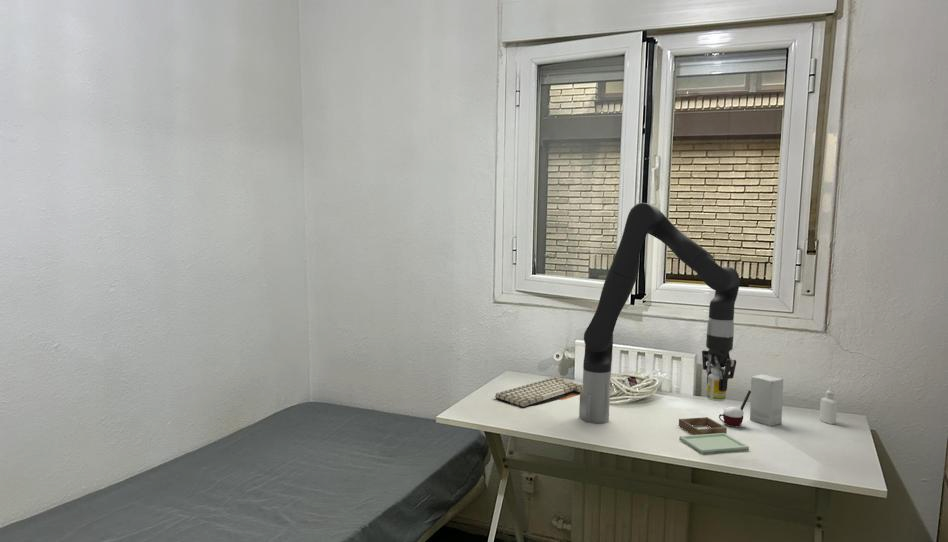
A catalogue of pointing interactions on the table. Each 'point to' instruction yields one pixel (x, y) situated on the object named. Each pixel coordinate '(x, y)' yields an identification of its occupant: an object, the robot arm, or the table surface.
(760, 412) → the skincare box
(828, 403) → the eye dropper bottle
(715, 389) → the supplement bottle
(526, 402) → the mechanical keyboard
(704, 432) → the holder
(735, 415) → the cocoa
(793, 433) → the table surface
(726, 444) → the tray
